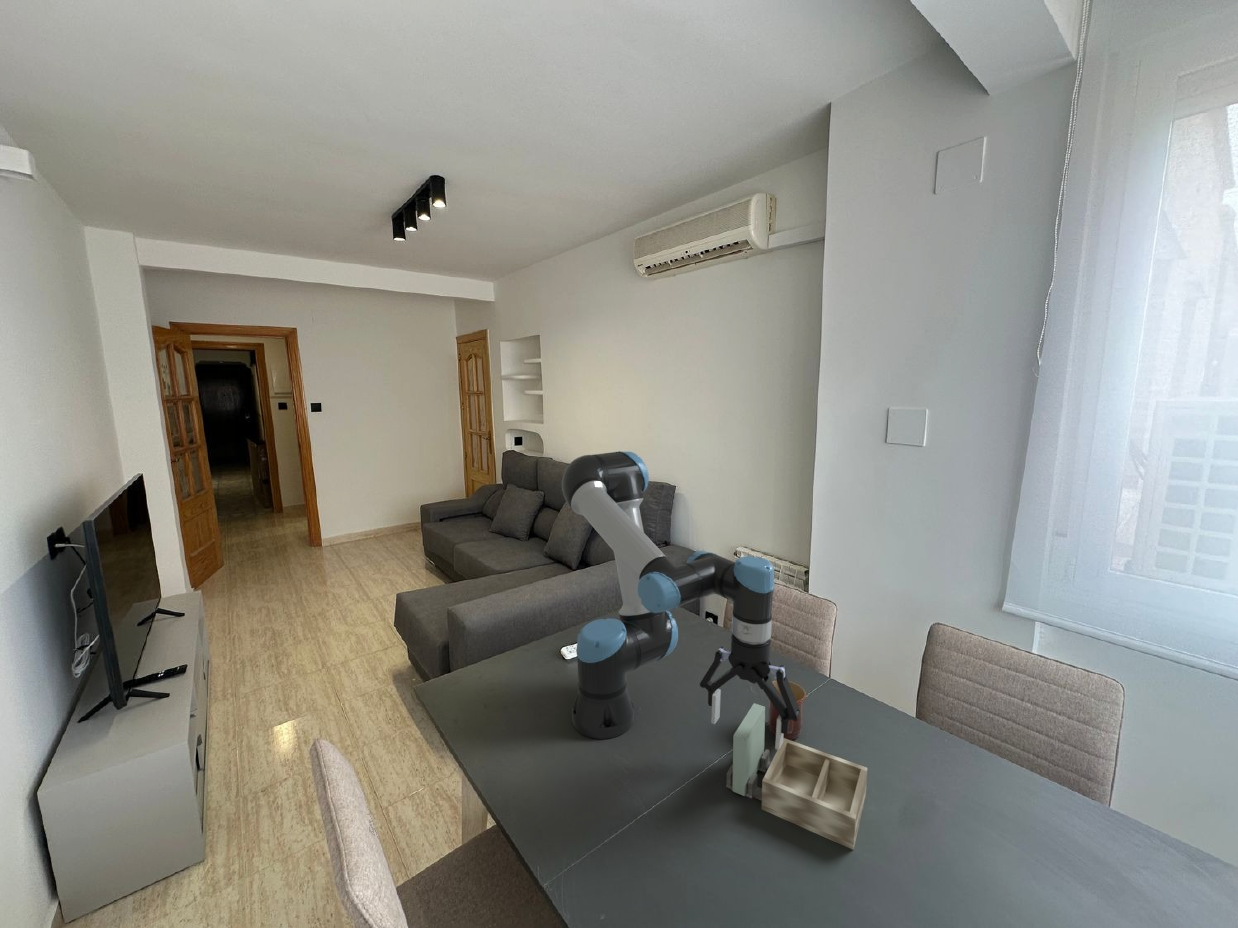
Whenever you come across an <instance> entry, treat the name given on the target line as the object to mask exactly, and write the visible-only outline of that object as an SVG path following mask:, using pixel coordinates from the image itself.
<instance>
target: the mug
mask: <svg viewBox="0 0 1238 928" xmlns="http://www.w3.org/2000/svg"><path fill="white" fill-rule="evenodd" d="M788 682H789V684H790V687H791V689H792V692H793V694H794V697H795V699H796V702H797V704H798V707H799V709H800V715H799V717H798V719H797V721H793V720H790V724H789V730H788V732H787V734H786V735H785V734H784V735H783V738H785V739H788V740H791V741H793V740H795V739H798V737H800V735H801V732H802V727H803V704H804V702H805V699H806V697H807V692H806V690H805V689H804V687H802V686H801V685H800V684H798V683H795V682H793V681H790V680H788ZM772 683H773V684H774V686H775V687H776V689H777V690H778V692H779V694H780V695H781V697H782V694H781V692H780V690H779V687H778V684H777V679H774V680H773V681H772ZM782 698H783V697H782ZM767 699H768V711H767V723H768V729H769V731H770V732H771V734H773V735H774V736H775V737H776V728H777V718H778V716H779V714H778V712H777V711H776V709H775V707H774V706H773V704H772V703H771V701H770V700H769V698H768V697H767ZM783 700H784V699H783Z"/></svg>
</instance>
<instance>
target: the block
mask: <svg viewBox="0 0 1238 928" xmlns="http://www.w3.org/2000/svg"><path fill="white" fill-rule="evenodd" d="M765 724H766V706H763V705H761V704H758V703H753V704H752V706H751V707H750V709H749V710H748V712H747V714H746V715H745V716H744V718H743V719H742V721H741V723H740V724H739V726H738V728H737V729H736V731H735V732H734V734H733V744H732V745H733V746H732V747H733V748H732V764H733V790H732V792H733V793H736V794H738V795H741V796H743V797H746V796H745V794H746V792H747V790H748V782H749V780H750V778H751V776H752V774H753V773H755V774H758V771H759V770H758V769H759V767H760V765H761V757H762V756H763V754H764V752H765V730H766V729H765V726H766V725H765Z"/></svg>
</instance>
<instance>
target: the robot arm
mask: <svg viewBox="0 0 1238 928" xmlns="http://www.w3.org/2000/svg"><path fill="white" fill-rule="evenodd" d="M645 463H646V462H644V460H643V458H641V457H640V456H639V455H638V454H636V453H635V452H632V451H614V452H613V451H612V452H606V453H596V454H586V455H581V456H579V457H576V458H575V459H573V460H572V461H570V463H569V464H568V465H567V467H566V468H565V470H564V472H563V475H562V480H561V490H562V495H563V497H564V499H565V502H566V504H567V505H568V506H569V508H571V510H572V511H573V512H574V513H575V514H577V515H580V516H583V517H584V518H585V520H586V521H587V522H588V523H589V524H590V525H591V526H592V527H593V529H594V530H595V531H596V532H597V533H598V535H599V536H600V537H601V539H603V540H604V542H605V543H606V544H607V545H608V546H609V547H610V549H611V550H612V551H613V554H614V561H615V566H616V571H617V576H618V583H619V587H620V594H621V600H622V606H621V608H620V609H619V610H618V615H619V619H617V618H614V617H613V618H611V617H610V618H609V617H607V618H606V619H604V618H599V619H595V620H593V621H590V622H588V623H587V624H585V625H584V626H583V627H582V628H581V629H580V630H579V632H578V635H577V640H576V642H577V643H576V649H575V652H576V656H577V658H576V659H577V661H576V662H577V682H578V683H577V684H578V691H577V693H576V696H575V699H574V704H573V706H572V709H571V721H572V725H573V727H574V729H575V730H576V731H577V732H578V733H579V734H581V735H583V736H585V737H588V738H592V739H598V740H600V739H601V740H602V739H603V740H605V739H611V738H616V737H619V736H620V735H623V734H625V733H626V732H628V731H629V730H630V729H631V727H632V726H633V724H634V722H635V707H634V704H633V702H632V699H631V697H630V694H629V693H630V692H629V690H628V688H627V675H628V673H631V672H632V671H634V670H637V669H640V668H642V667H644V666H647V665H649V664H651V663H654V662H657V661H658V662H659V661H661V660H662V659H664V658H665V657H666V656H669V655H670V654H671V653H673V652H674V650H675V648H676V646H677V644H678V640H679V629H678V625H677V621H676V619H675V618H673V614H672V613H671V612H670V611H671V610H675V609H676V608H678V607H682V606H683V605H686V604H688V603H689V604H690V603H691V602H695V601H697V600H701V599H703V598H706V597H709V596H713V595H717V596H719V597H721V598H724V599H726V600H729V601H732V618H731V619H732V620H731V621H732V623H731V633H732V634H731V636H730V637H731V639H730V640H731V642H730V651H727V650H726V648H725V647H724V646H720V647H719V648H718V649H717V650H716V651H715V653H714V659H713V660H714V661H713V662H712V663H711V665H710V666H709V668H708V670H707V671H706V673H705V675H704V676H703V678H702V679H701V681H700V683H699V687H701V688H702V689H704V688H705V689H706V690H707V692H708V694H707V703H708V706H710V707H711V722H710V723H711V724H713V725H716V723H717V722H718V720H719V719H720V715H721V714H720V713H721V693H722V691H721V690H722V689H720V688H721V687H722V686H724V685H725V684H726V683H728V681H730V680H732V679H733V678H735V677H736V676H737V677H739V680H742V681H748V682H749V683H752V684H757V686H758V687H759V688H760V689H761V690H763V692H764V693H765V696H766V697H767V699H768V698H769V699H768V701H769V700H770V701H771V703H772V704H773V706H774V707H775V709H776V711H777V712H778V714H779V716H778V718H777V728H776V736H775V743H774V744H775V746H774V748H775V750H776V751H777V750H779V749H780V747H781V745H782V743H783V735H784V734H785V735H786V734H787V732H788V730H789V724H790V720H793V721H797V719H798V717H799V715H800V709H799V707H798V704H797V702H796V699H795V697H794V694H793V692H792V689H791V687H790V684H789V682H788V681H789V679H788V677H787V676H788V675H787V668H786V666H785V665H784V664H781V665H780V666H775V665H772V663H771V659H770V658H771V643H772V642H771V641H772V640H771V637H772V623H773V612H772V611H773V602H774V593H775V592H774V591H775V587H776V583H775V568H774V566H773V564H772V563H771V561H770V560H768V559H765V558H762V557H756V556H752V555H751V556H749V555H748V556H741V557H739V558H737V559H736V560H735V561H734V560H731V559H728V558H726V557H723V556H720V555H718V554H717V553H713V552H709V551H706V550H705V551H704V550H697V551H695V552H693V553H692V555H691V556H689V557H688V559H687V561H686V563H681V564H678V565H677V564H674V562H672V561H671V560H670V558H669V557H668V556H667V555H665V553H663V551H662V550H661V549H660V548H659V547H658V546H657V545H656V544H655V543H654V542H653V541H652V539H650V538H649V536H648V535H646V533H645V530H644V526H643V522H642V521H643V520H642V515H641V511H640V505H641V503H642V502H643V501H644V495H643V493H644V492H645V491H646V489H648V484H649V481H650V476H649V470H648V467H647V465H646V464H645ZM726 660H728V661H729V664H730V666H731V668H729V669H728V670H727V671H726V672H724V673H723V674H722V675H721V676H719V677H718V678H717V679H716V680H714V681H711V679H713V676H714V675H715V673H716V672H717V670H718V669H719V668H720V666H721V664H722V663H723V662H725V661H726ZM770 674H771V675H773V679H774V680H777V684H778V687H779V690H780V692H781V694H782V697H783V698H782V697H781V695H780V694H779V692H778V690H777V689H776V687H775V686H774V684H773V683H772V677H771V676H770ZM783 699H784V700H783Z"/></svg>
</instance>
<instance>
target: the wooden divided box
mask: <svg viewBox="0 0 1238 928" xmlns="http://www.w3.org/2000/svg"><path fill="white" fill-rule="evenodd" d="M770 751H771V750H770V749H764V754H763V756H762V757H761V765H760V767H759V769H758V771H760V772H763V773H765V775H764V777H763V778H762V782H761V785H762V786H761V787H758V773H756V774H755V773H753V774H752V776H751V778H750V780H749V782H748V790H747V792H746V794H745V796H744V797H747V798H750V799H753V798H755V799H757V800H759V801H761V810H762V811H765V812H767V813H768V814H769V813H770V814H772V815H774V816H776V817H778V818H780V819H782V820H785V821H787V822H790V823H792V824H794V825H796V826H798V827H801V828H803V829H805V830H807V831H809V832H811V833H814V834H817V835H818V836H821V837H823V838H826V839H827V840H830V841H832V842H835V843H837V844H839V845H841V846H843V847H846V848H848V849H850V850H853V851H854V849H855V846H856V845H855V844H856V841H857V838H858V837H857V836H858V832H859V828H860V823H861V819H862V814H863V811H864V806H865V801H866V796H867V782H868V781H867V780H868V767H866V766H863V765H860V764H858V763H855V762H852V761H849V760H846V759H844V758H841V757H839V756H835V755H832V754H830V753H826V752H825V751H821V750H818V749H816V748H814V747H810V746H807V745H804V744H802V743H799V742H796V741H793V740H788V739H785V738H783V743H782V745H781V747H780V749H779V750H777V749H776V753H775V754H774V756H773V758H772V760H771V761H770V757H771V756H770V753H771V752H770ZM727 788H728V789H729V790H731V791H733V763H732V764H731V766H730V767H729V769H728V770H727V773H726V789H727Z"/></svg>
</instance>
